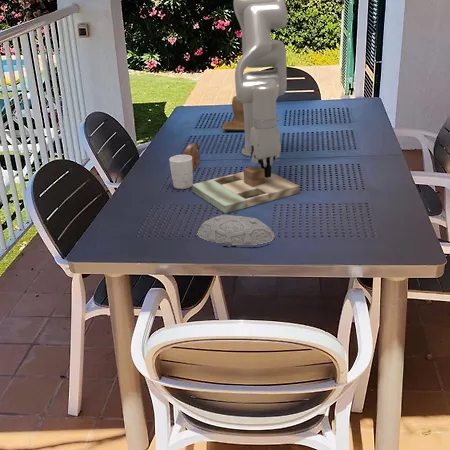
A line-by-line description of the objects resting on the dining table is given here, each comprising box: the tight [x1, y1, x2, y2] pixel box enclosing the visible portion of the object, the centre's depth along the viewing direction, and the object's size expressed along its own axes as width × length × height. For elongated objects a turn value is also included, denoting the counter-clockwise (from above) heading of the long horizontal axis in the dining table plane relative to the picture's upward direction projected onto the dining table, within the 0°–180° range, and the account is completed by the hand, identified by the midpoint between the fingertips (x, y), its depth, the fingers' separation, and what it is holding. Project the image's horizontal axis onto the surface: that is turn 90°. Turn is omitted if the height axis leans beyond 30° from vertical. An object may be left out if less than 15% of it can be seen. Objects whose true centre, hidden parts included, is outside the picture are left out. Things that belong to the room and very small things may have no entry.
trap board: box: [191, 171, 300, 214], centre depth 200 cm, size 28×23×2 cm
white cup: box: [168, 154, 194, 190], centre depth 207 cm, size 8×8×10 cm
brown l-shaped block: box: [221, 95, 245, 132], centre depth 267 cm, size 15×12×15 cm
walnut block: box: [243, 165, 265, 187], centre depth 200 cm, size 5×5×5 cm
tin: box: [182, 142, 201, 172], centre depth 224 cm, size 15×3×8 cm, turn 168°
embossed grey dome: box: [196, 214, 276, 245], centre depth 170 cm, size 16×25×7 cm, turn 69°
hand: (266, 176), depth 202 cm, fingers closed
